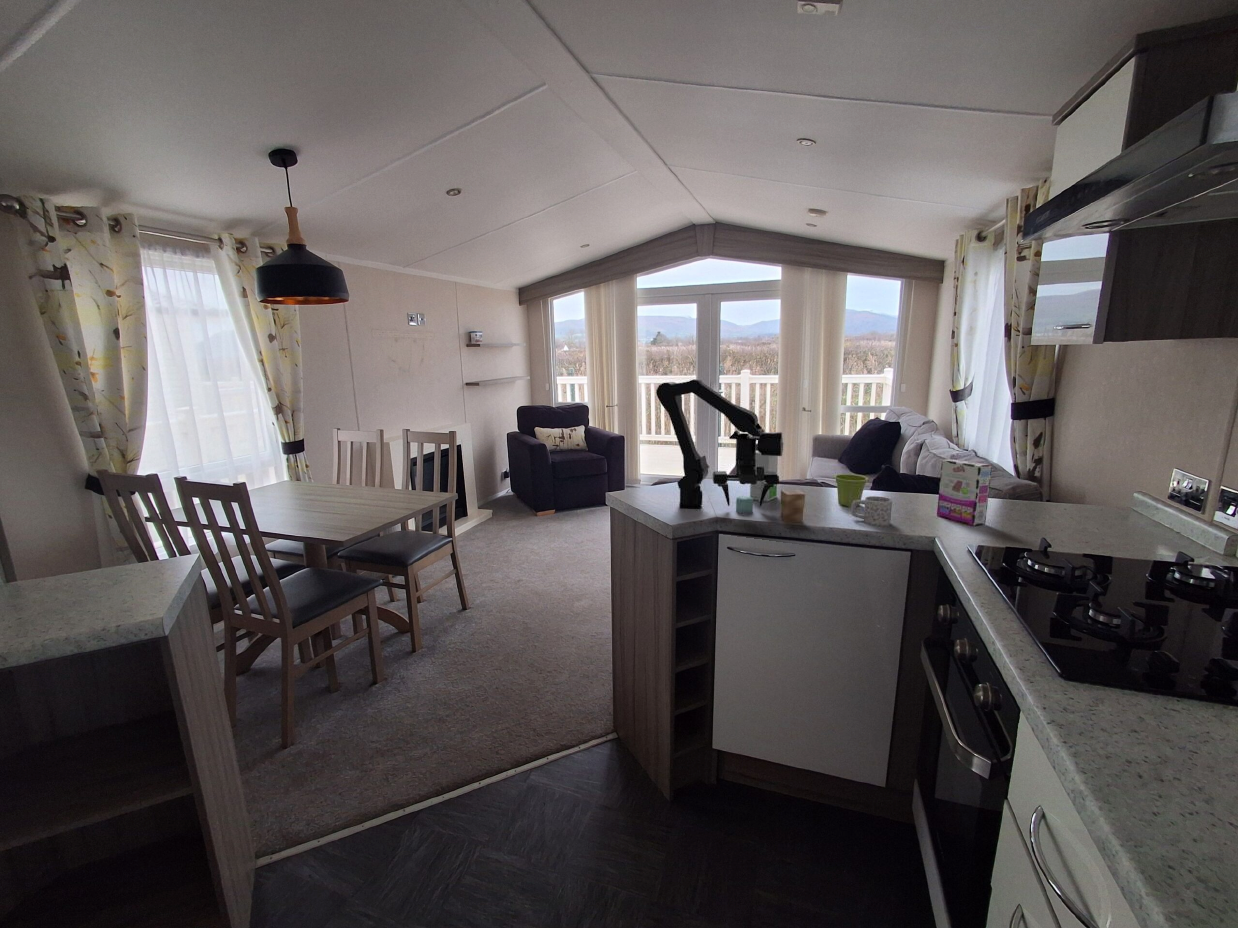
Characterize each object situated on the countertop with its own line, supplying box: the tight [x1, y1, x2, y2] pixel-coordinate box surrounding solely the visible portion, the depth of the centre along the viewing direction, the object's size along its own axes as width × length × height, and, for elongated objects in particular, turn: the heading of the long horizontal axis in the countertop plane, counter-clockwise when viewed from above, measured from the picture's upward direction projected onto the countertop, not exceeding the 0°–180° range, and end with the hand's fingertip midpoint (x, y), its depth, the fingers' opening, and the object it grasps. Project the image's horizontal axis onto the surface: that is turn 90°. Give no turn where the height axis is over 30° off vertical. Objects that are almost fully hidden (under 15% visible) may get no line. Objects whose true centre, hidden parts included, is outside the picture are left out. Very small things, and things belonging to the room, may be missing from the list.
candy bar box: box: [936, 458, 993, 527], centre depth 145 cm, size 11×5×16 cm, turn 21°
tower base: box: [780, 504, 804, 523], centre depth 149 cm, size 5×5×4 cm
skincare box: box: [749, 450, 779, 502], centre depth 172 cm, size 8×7×16 cm
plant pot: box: [834, 473, 869, 508], centre depth 163 cm, size 9×9×9 cm
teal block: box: [735, 495, 754, 514], centre depth 158 cm, size 5×5×4 cm
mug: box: [850, 495, 893, 527], centre depth 146 cm, size 10×7×7 cm
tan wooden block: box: [780, 489, 806, 509], centre depth 149 cm, size 5×5×4 cm
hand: (744, 505), depth 158 cm, fingers open, 9 cm apart
